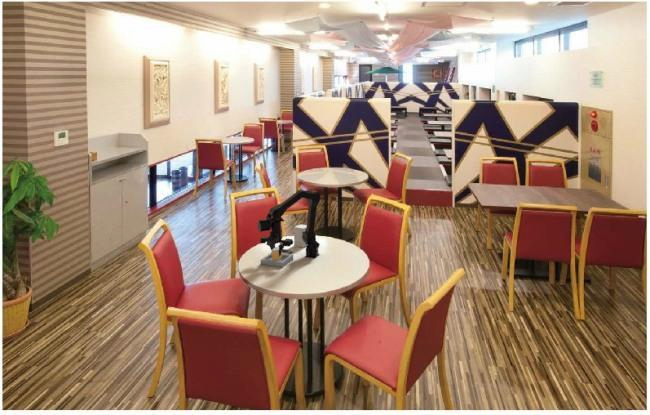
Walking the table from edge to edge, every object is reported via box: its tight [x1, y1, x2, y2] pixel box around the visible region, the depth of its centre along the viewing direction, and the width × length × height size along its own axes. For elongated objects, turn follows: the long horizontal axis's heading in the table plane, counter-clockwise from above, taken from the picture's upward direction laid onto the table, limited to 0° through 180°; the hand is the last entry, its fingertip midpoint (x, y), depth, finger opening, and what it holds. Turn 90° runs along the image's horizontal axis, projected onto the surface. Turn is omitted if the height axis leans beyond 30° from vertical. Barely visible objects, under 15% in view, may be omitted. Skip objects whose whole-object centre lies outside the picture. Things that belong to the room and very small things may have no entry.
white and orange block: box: [271, 246, 283, 261], centre depth 299 cm, size 4×6×6 cm, turn 158°
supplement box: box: [293, 223, 307, 249], centre depth 328 cm, size 7×7×13 cm
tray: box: [260, 251, 294, 269], centre depth 300 cm, size 14×14×3 cm
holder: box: [282, 248, 293, 255], centre depth 314 cm, size 8×10×1 cm
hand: (276, 255), depth 300 cm, fingers closed on white and orange block, 3 cm apart
